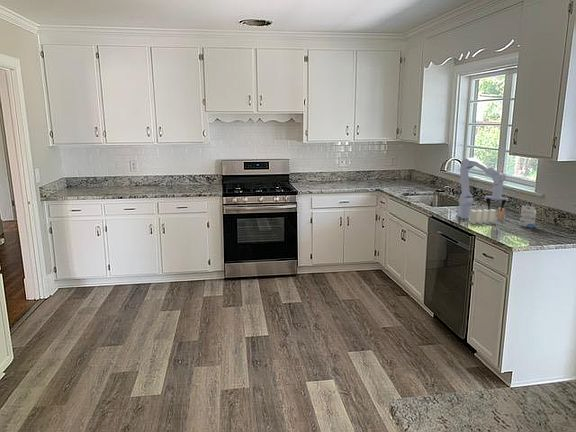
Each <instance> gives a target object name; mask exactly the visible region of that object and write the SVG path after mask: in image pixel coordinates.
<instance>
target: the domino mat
mask: <svg viewBox="0 0 576 432" xmlns="http://www.w3.org/2000/svg"><path fill="white" fill-rule="evenodd" d="M469 221H470V219H469V220H467V219H466V220H464V222H466V223H468V224H471V225H474V226H476V225H487V224H486V223H484V222H482V224H479V223H477V222H476V224H472V223H470V222H469ZM502 224H505V225H506V224H510V222H508V221H505V220H503V221H499V220H497V218H496V221H495V223H491V222H489V224H488V225H502Z"/></svg>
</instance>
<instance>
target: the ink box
mask: <svg viewBox="0 0 576 432" xmlns="http://www.w3.org/2000/svg"><path fill="white" fill-rule="evenodd" d="M536 216H537V209H536V207H535V206H531V205H521V209H520V216H519V223H518V225H519V227H524V228H526V227H527V228H531V229H532V228H534V227H535V222H536Z"/></svg>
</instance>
